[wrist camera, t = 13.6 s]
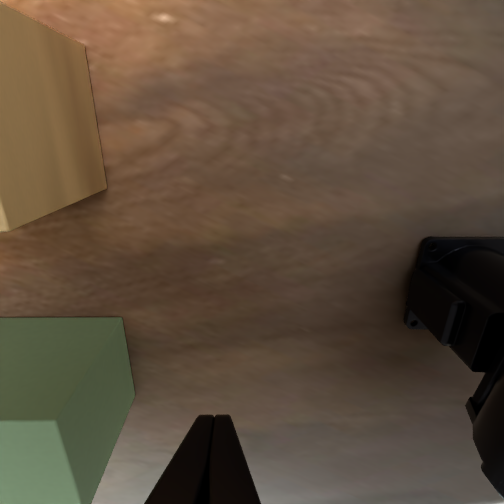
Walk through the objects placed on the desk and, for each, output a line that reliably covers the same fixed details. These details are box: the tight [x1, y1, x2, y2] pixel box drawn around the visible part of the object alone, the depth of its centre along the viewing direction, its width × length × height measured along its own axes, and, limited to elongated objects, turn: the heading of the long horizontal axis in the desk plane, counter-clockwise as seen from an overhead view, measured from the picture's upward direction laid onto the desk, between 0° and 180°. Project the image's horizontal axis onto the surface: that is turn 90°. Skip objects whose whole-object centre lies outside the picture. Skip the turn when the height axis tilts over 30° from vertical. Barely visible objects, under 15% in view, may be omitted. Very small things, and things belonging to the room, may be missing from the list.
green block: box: [0, 317, 135, 504], centre depth 18 cm, size 10×7×8 cm
